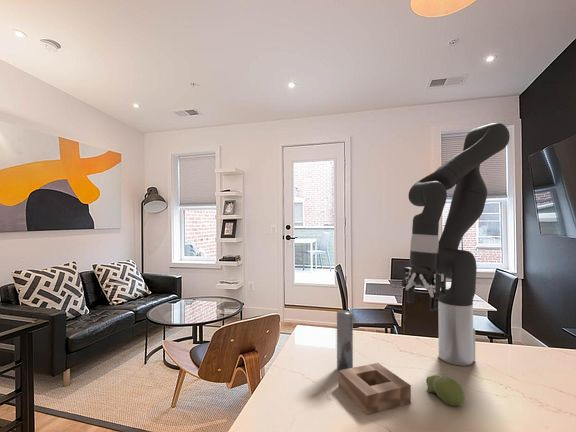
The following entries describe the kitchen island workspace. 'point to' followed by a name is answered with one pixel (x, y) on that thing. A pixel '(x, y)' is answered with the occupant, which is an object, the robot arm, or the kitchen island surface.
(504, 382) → the kitchen island surface
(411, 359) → the kitchen island surface
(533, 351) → the kitchen island surface
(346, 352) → the pin
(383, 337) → the kitchen island surface
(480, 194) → the robot arm
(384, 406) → the socket block
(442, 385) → the green rounded lump
